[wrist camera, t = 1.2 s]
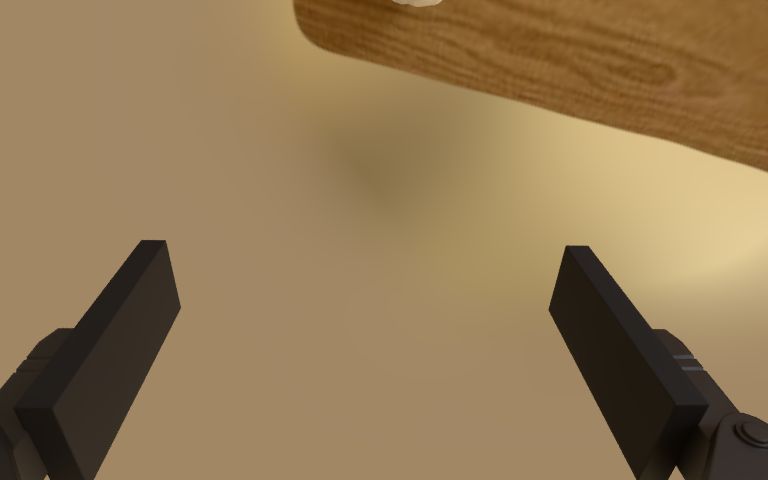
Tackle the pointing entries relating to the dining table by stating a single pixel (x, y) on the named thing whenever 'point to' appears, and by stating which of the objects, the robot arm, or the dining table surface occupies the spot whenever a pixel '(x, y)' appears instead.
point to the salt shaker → (418, 2)
